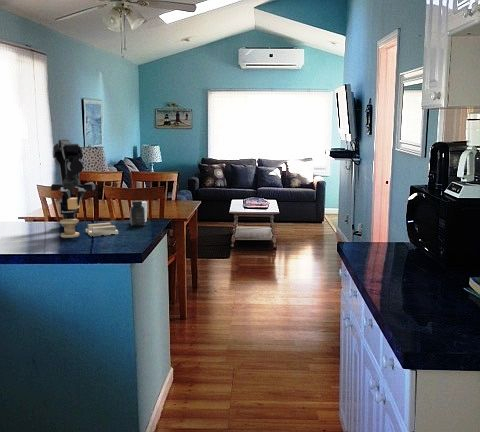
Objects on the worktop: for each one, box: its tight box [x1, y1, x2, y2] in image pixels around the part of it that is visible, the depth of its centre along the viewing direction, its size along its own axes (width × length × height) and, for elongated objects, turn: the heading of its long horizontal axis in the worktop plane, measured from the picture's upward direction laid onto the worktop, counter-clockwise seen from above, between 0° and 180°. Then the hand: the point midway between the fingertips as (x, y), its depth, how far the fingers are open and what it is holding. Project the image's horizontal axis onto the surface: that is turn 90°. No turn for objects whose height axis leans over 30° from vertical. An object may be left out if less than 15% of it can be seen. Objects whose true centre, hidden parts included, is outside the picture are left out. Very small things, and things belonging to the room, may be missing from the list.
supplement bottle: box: [129, 200, 146, 227], centre depth 271 cm, size 7×7×12 cm
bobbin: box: [59, 218, 80, 239], centre depth 247 cm, size 8×8×7 cm
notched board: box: [85, 222, 119, 238], centre depth 253 cm, size 12×12×4 cm
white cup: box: [131, 200, 148, 223], centre depth 282 cm, size 8×8×10 cm
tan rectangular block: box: [67, 196, 81, 209], centre depth 255 cm, size 4×7×4 cm, turn 0°
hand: (74, 205), depth 255 cm, fingers closed on tan rectangular block, 3 cm apart
